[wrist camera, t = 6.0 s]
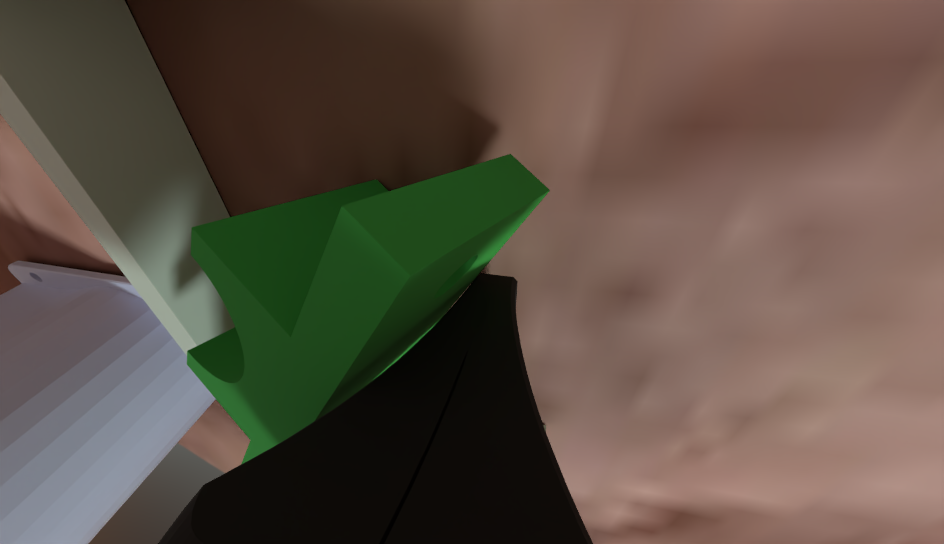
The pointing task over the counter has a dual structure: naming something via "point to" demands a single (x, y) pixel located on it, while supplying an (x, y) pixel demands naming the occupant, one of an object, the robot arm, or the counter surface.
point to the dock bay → (114, 149)
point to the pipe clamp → (344, 287)
